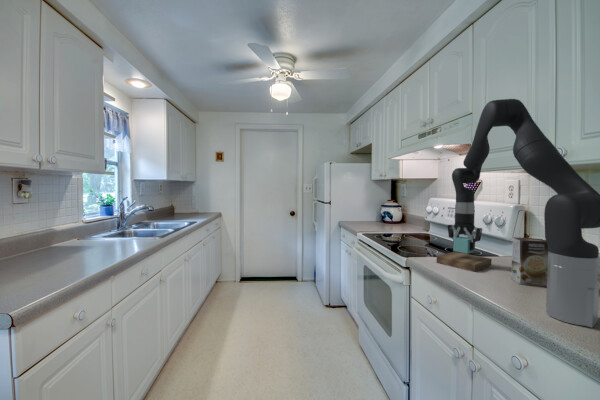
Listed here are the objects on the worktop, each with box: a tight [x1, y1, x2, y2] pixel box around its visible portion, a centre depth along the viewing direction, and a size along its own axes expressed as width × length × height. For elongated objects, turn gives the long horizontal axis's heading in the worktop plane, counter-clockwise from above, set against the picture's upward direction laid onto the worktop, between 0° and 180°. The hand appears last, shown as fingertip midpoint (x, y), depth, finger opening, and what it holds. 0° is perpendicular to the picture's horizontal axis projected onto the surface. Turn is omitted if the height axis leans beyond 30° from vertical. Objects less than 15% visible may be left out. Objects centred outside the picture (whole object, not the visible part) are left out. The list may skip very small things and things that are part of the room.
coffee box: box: [510, 236, 548, 288], centre depth 95 cm, size 9×6×16 cm
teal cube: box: [452, 236, 475, 254], centre depth 119 cm, size 6×6×6 cm
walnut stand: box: [436, 251, 492, 272], centre depth 119 cm, size 16×16×3 cm
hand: (463, 248), depth 119 cm, fingers closed on teal cube, 6 cm apart
